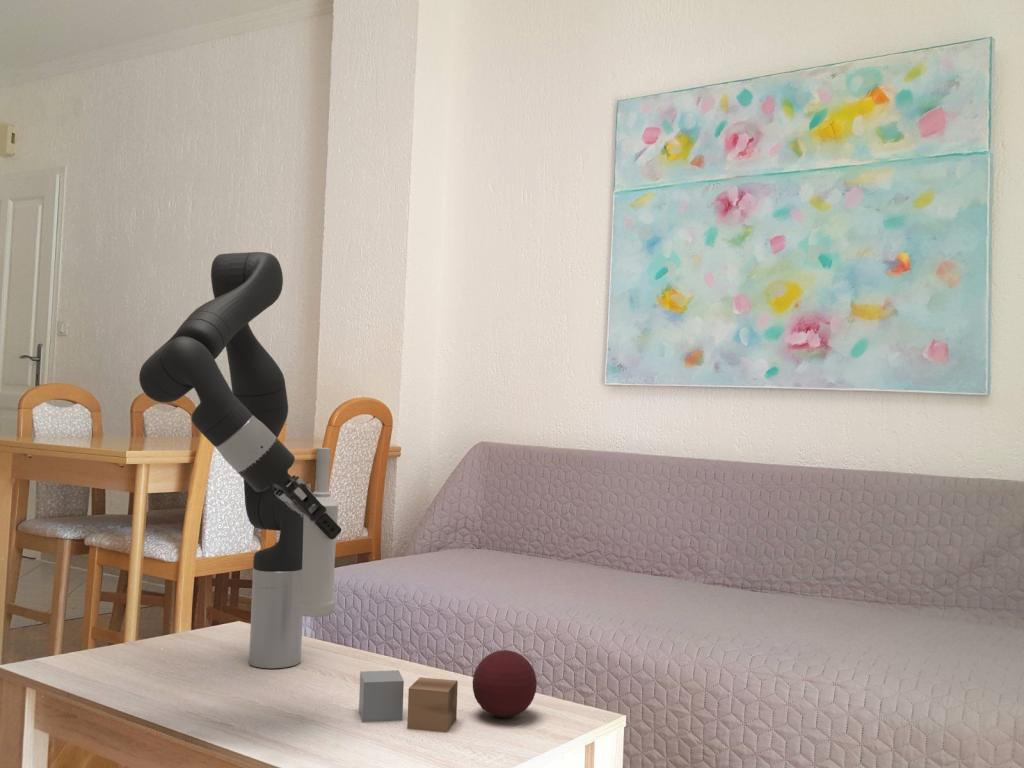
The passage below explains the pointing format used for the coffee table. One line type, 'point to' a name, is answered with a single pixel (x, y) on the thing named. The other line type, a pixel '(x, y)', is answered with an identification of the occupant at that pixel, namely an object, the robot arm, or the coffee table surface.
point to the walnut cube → (432, 704)
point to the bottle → (319, 549)
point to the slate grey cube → (381, 696)
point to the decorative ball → (504, 684)
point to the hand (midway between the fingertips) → (331, 532)
